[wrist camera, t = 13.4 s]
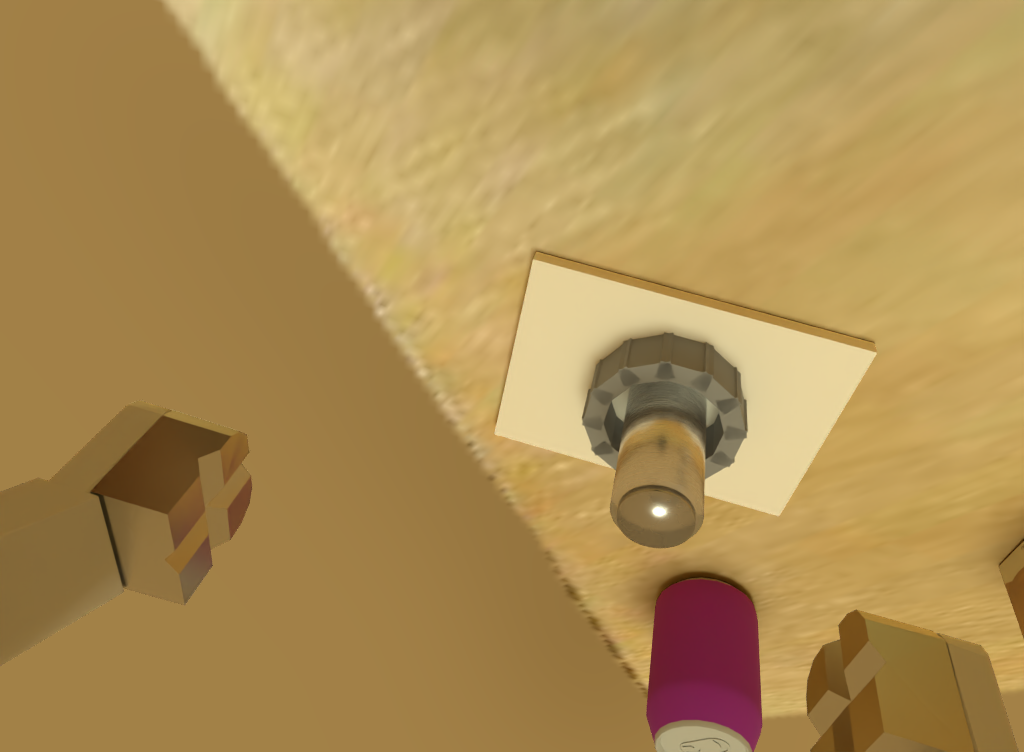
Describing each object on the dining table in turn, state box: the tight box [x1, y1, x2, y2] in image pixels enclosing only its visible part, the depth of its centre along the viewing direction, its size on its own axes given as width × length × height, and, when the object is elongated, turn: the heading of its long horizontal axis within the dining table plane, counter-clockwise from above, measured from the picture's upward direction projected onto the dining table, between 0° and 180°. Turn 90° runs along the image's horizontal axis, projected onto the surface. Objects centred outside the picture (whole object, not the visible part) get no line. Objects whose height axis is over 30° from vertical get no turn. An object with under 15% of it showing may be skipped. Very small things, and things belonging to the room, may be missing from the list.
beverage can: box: [646, 577, 762, 752], centre depth 54 cm, size 8×8×12 cm
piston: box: [610, 380, 707, 548], centre depth 43 cm, size 5×5×11 cm
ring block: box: [494, 251, 877, 516], centre depth 47 cm, size 20×14×4 cm
